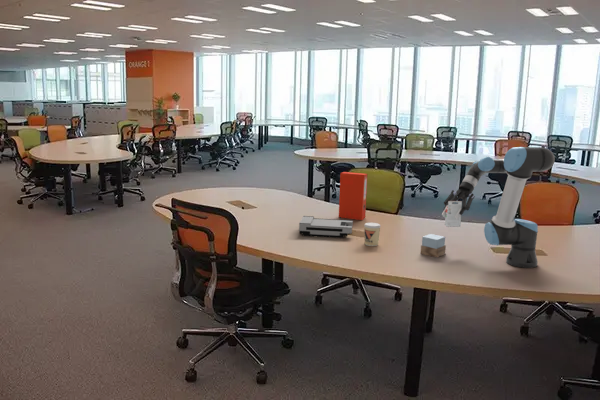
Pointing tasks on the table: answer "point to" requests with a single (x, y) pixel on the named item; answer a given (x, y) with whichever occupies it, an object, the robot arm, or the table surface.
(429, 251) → the walnut base block
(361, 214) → the file binder
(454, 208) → the ink box
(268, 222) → the table surface
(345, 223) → the game console
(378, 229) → the coffee cup
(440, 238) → the grey-blue top block
